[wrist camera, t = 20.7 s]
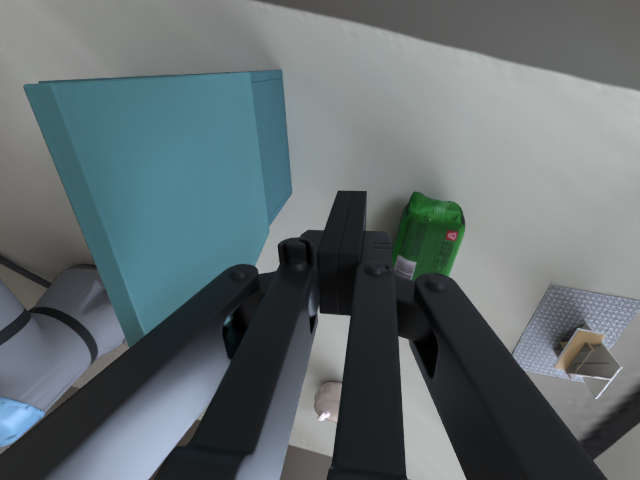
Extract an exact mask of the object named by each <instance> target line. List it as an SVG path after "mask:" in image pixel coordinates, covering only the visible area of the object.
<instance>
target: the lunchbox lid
mask: <svg viewBox="0 0 640 480" xmlns="http://www.w3.org/2000/svg"><path fill="white" fill-rule="evenodd" d="M24 90H25V93H26V95H27V98H28V100H29V102H30V105H31V107H32V110H33V112H34V115H35V117H36V120H37V122H38V125H39V127H40V129H41V132H42V134H43V137H44V139H45V142H46V144H47V147H48V149H49V152H50V154H51V156H52V159H53V161H54V164H55V166H56V169H57V171H58V174H59V176H60V179H61V181H62V183H63V186H64V188H65V191H66V193H67V196H68V198H69V201H70V203H71V206H72V208H73V210H74V213H75V215H76V218H77V220H78V223H79V225H80V228H81V230H82V233H83V235H84V237H85V240H86V242H87V245H88V247H89V250H90V252H91V255H92V257H93V260H94V262H95V264H96V267H97V269H98V272H99V274H100V277H101V279H102V282H103V284H104V287H105V289H106V291H107V294H108V296H109V299H110V301H111V304H112V306H113V309H114V311H115V314H116V316H117V318H118V321H119V323H120V326H121V328H122V331H123V333H124V336H125V338H126V341H127V343H128V345H129V348H130V347H132V346H133V345H134V344H135V343H137V342H138V341H139V340H140V339H141V338H143V337H144V336H145V335H146V334H147V333H149V332H150V331H151V330H152V329H154V328H155V327H156V326H157V325H158V324H160V323H161V322H162V321H163V320H165V319H166V318H167V317H168V316H169V315H171V314H172V313H173V312H174V311H175V310H177V309H178V308H179V307H180V306H182V305H183V304H184V303H185V302H186V301H188V300H189V299H190V298H191V297H192V296H194V295H195V294H196V293H197V292H199V291H200V290H201V289H202V288H203V287H205V286H206V285H207V284H208V283H210V282H211V281H212V280H213V279H214V278H216V277H217V276H218V275H219V274H220V273H222V272H223V271H224V270H226V269H227V268H229V267H231V266H234V265H237V264H250V265H253V266H255V265H256V262H257V260H258V258H259V255H260V253H261V251H262V248H263V246H264V244H265V241H266V239H267V236H268V234H269V225H268V217H267V208H266V200H265V192H264V184H263V176H262V168H261V159H260V151H259V143H258V135H257V127H256V119H255V111H254V102H253V94H252V86H251V78H250V72H235V73H218V74H200V75H182V76H165V77H147V78H129V79H112V80H94V81H76V82H59V83H41V84H26V85H24ZM229 320H230V319H229V317H228V318H227V320H226V321H225V323H224V325H225V324H226V323H227V322H228V321H229ZM182 437H183V436H182Z"/></svg>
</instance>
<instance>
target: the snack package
mask: <svg viewBox="0 0 640 480" xmlns="http://www.w3.org/2000/svg"><path fill="white" fill-rule="evenodd" d="M464 232H465V219H464V216H463V212H462V209H461V207H460V206H459V205H458V204H457V203H455V202H451V201H439V200H434V199H431V198H428V197H426V196H424V195H423V194H422V193H420V192H415V191H414V192H413V194H412V196H411V198H410V201H409V203H408V205H407V206H406V207H405V209H404V211H403V213H402V217H401V220H400V225H399V228H398V233H397V236H396V239H395V242H394V245H393V248H392V264H393V268H394V271H395V273H397V274H398V275H399V276H401V277H403V278H406V279H409V280H412V281H415V280H416V278H417V277H418V276H420V275H421V274H425V273H439V274H443V275H446V276H448V277H449V274H450V271H451V268H452V265H453V263H454V260H455V257H456V255H457V252H458V249H459V247H460V244H461V241H462V238H463V235H464Z"/></svg>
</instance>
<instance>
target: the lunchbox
mask: <svg viewBox="0 0 640 480" xmlns="http://www.w3.org/2000/svg"><path fill="white" fill-rule="evenodd" d="M249 72H250V78H251V86H252V94H253V102H254V111H255V119H256V127H257V135H258V143H259V151H260V159H261V168H262V176H263V184H264V192H265V200H266V208H267V217H268V225H269V226H270V224H271V223H272V222H273V220H274V219H275V217H276V216H277V214H278V213H279V211H280V210H281V209H282V207H283V206H284V204H285V203H286V201H287V200H288V198H289V197H290V195H291V194H292V186H291V174H290V162H289V150H288V138H287V126H286V114H285V102H284V90H283V78H282V70H271V71H249ZM227 73H235V72H227ZM205 74H218V73H205ZM184 75H200V74H184ZM165 76H182V75H162V76H140V77H118V78H97V79H77V80H56V81H39V82H38V83H39V84H41V83H59V82H76V81H94V80H112V79H129V78H147V77H165Z"/></svg>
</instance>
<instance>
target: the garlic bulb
mask: <svg viewBox="0 0 640 480" xmlns="http://www.w3.org/2000/svg"><path fill="white" fill-rule="evenodd" d="M341 388H342V383H340V382H327V383H325V384H323V385H322V386H321V387H320V388H319V389H318V391H317V392H316V394H315V403H314V408H315V411H316V413H317V414H318V415H319V417H317V419H318V420H317V421H320V420H324V419H326V420H329V421H332V422H335V423H337V420H338V412H339V404H340V396H341Z"/></svg>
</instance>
